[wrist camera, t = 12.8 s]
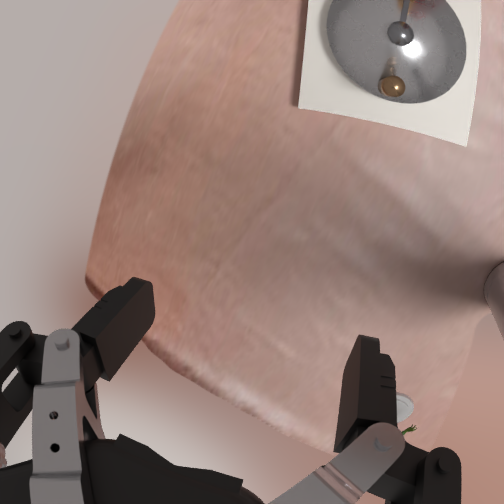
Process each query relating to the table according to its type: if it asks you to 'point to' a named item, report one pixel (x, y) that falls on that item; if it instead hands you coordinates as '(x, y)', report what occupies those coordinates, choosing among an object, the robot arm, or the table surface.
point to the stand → (380, 110)
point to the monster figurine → (404, 409)
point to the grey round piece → (398, 46)
